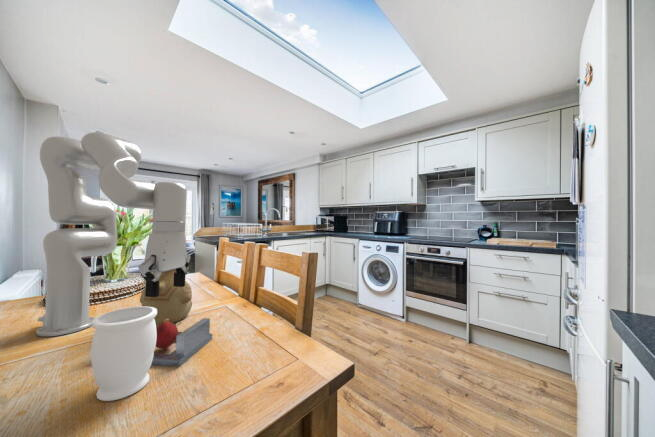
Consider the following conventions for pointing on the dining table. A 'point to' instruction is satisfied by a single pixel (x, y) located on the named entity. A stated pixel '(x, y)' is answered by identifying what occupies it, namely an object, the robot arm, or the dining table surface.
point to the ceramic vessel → (169, 299)
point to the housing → (186, 344)
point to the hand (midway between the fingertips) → (166, 291)
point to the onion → (166, 334)
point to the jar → (123, 351)
